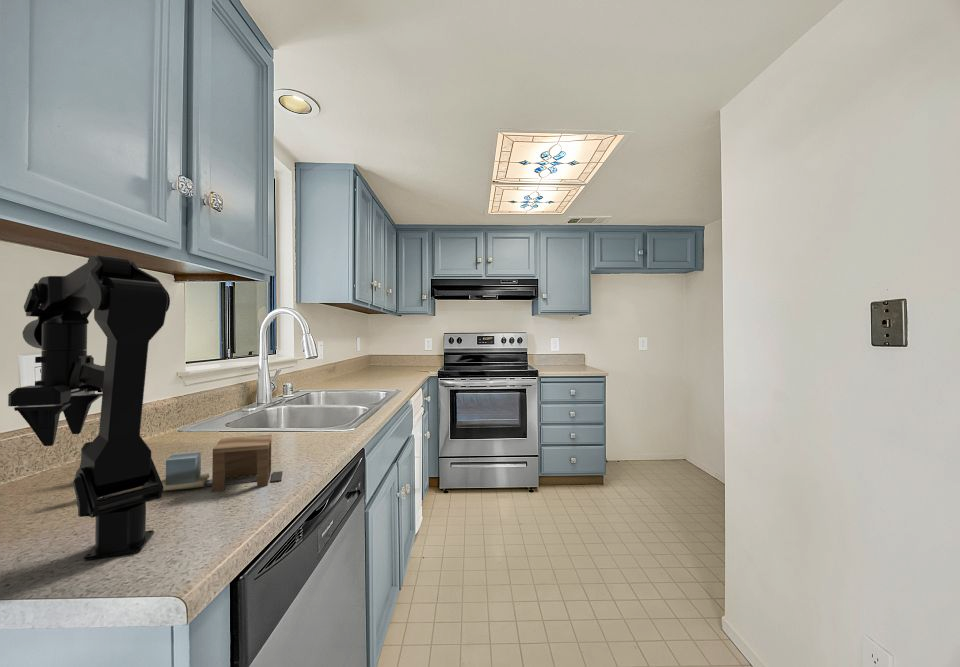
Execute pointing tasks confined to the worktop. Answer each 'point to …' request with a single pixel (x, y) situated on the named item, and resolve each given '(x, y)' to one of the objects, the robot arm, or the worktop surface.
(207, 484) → the rail
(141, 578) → the worktop surface
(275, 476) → the grey flat block
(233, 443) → the tunnel
